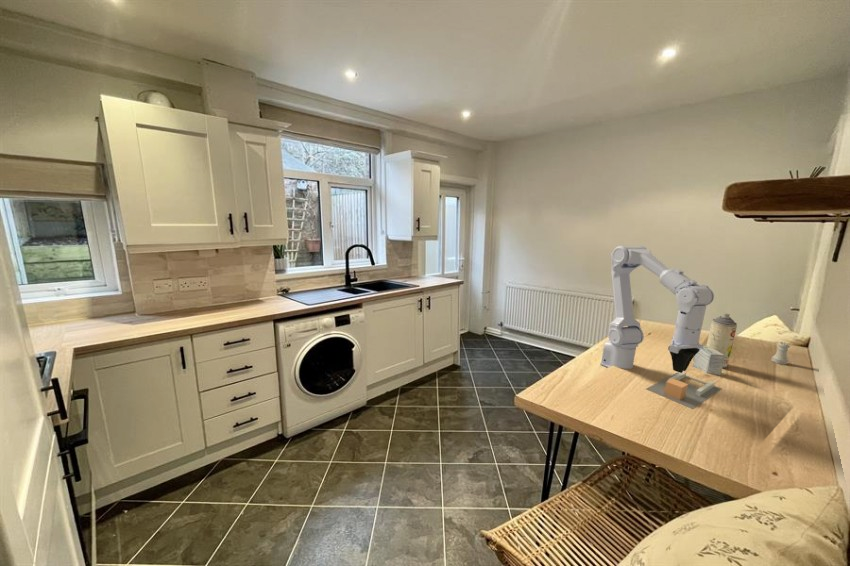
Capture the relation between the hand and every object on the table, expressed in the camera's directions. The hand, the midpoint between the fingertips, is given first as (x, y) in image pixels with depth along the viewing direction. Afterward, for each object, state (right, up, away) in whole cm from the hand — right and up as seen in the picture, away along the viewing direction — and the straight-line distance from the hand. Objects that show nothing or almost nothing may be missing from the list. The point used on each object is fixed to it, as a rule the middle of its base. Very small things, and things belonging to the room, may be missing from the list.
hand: (679, 370), depth 94 cm
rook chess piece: (+62, -5, +29) cm, 69 cm away
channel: (+6, -9, +6) cm, 12 cm away
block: (0, -8, +1) cm, 8 cm away
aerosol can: (+35, -5, +26) cm, 44 cm away
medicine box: (+25, -6, +19) cm, 32 cm away
